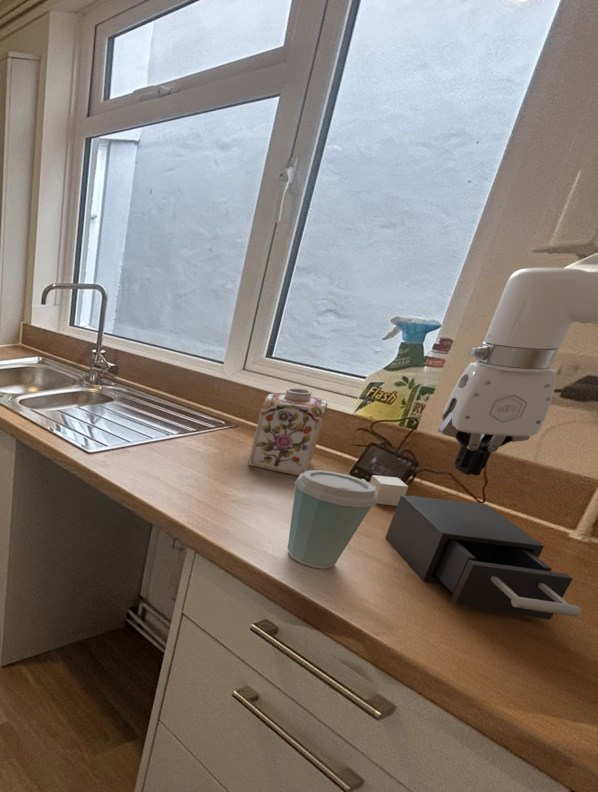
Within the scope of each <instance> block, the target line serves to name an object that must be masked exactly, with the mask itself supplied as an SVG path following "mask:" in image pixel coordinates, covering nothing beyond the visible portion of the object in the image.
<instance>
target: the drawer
mask: <svg viewBox="0 0 598 792" xmlns="http://www.w3.org/2000/svg"><path fill="white" fill-rule="evenodd" d="M552 569H553V568H552V567H550V565H548V564H547V563H546V562H544V561H543V560H542V559H541V558H540V557H536V556H535V555H534V554H532V553H531V552H530V551H528V550H527V549H526V548H518V547H510V546H503V545H495V544H487V543H479V542H472V541H464V540H456V539H449V538H447V541H446V544H445V546H444V548H443V551H442V553H441V555H440V558H439V560H438V562H437V565H436V567H435V569H434V572H433V573H434V574H435V575H436V576H437V577H438V578H439V579H440V580H441V581H442V582H443V583H444V584H443V585H444V586H445V587H446V588H447V589H448V590H449V591H450V593H451V594H452V595H451V598H450V601H451V602H452V603H453V604H454V605H456V606H462V607H468V608H475V609H481V610H487V611H493V612H499V613H505V614H506V613H507V614H511V615H519V616H523V617H524V616H525V617H530V618H537V619H544V620H551V619H552V617H553V616H554V614H556V615H562V616H569V617H574V618H577V617H580V616H581V614H582V609H581V607H579V606H578V605H577V604H570V603H569V602H568V601H566V600H565V599H564V596H565V594H566V592H567V591H568V588H569V587H570V585H571V583H572V581H573V579H574V578H573V577H571V576H570V575H569V574H568V573H564V572H557V571H552Z"/></svg>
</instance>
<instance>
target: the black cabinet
mask: <svg viewBox="0 0 598 792" xmlns="http://www.w3.org/2000/svg"><path fill="white" fill-rule="evenodd" d="M387 529H388V530H387V532H386V534H385V539H386V540H387V542H388V543H389V544H390V545H391V546H392V547H393V548H394V549H395V551H396V552H397V553H398V554H399V555H400V556H401V557H402V558H403V560H404V561H405V562H406V563H407V564H408V565H409V567H410V568H411V569H412V570H413V571H414V572H415V573H416V574H417V576H418V577H419V578H420V579H421V581H423V582H428V583H436V584H440V585H441V584H443V585H444V583H443V582H442V581H441V580H440V579H439V578H438V577H437V576H436V575H435V574H434V573H433V572H434V569H435V567H436V565H437V562H438V560H439V558H440V555H441V553H442V551H443V548H444V546H445V544H446V541H447V538H449V539H456V540H464V541H472V542H479V543H487V544H495V545H503V546H510V547H518V548H526V549H527V550H528V551H530V552H531V553H532V554H534V555H535V556H536V557H538V558H540V555H541V554H542V551H543V550H544V548H545V545H544V544H542V543H541V542H539V541H538V540H536V539H535V538H534V537H532V536H531V535H530V534H528V533H527V532H526V531H525V530H523V529H522V528H520V527H519V526H517V525H516V524H515V523H513V522H512V521H511V520H509V519H508V518H506V517H505V516H504V515H502V514H501V513H500V512H499V511H497V510H496V509H494V508H493V507H492V506H490V505H488V504H487V503H478V502H471V501H463V500H462V501H460V500H452V499H443V498H436V497H435V498H434V497H426V496H425V497H424V496H417V495H401V497H400V500H399V502H398V505H397V506H396V508H395V510H394V514H393V516H392V518H391V521H390V525H389V526H388V528H387Z"/></svg>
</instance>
